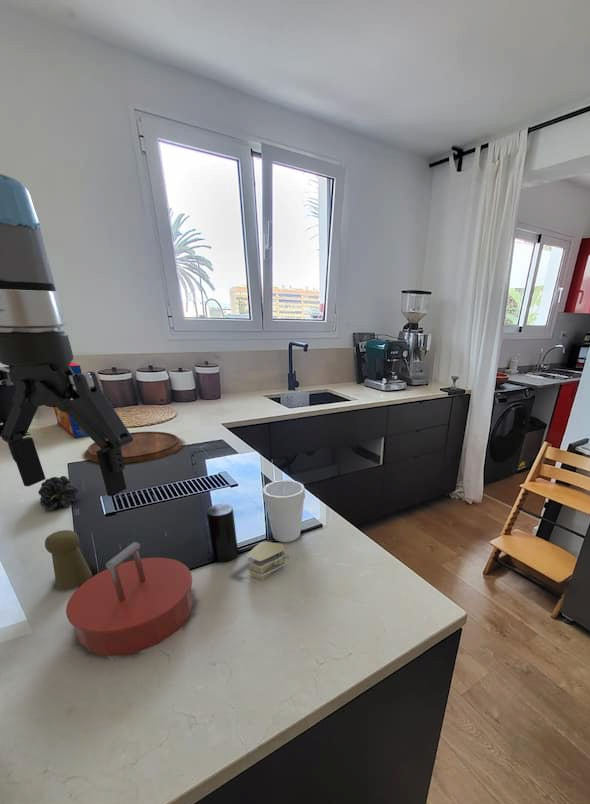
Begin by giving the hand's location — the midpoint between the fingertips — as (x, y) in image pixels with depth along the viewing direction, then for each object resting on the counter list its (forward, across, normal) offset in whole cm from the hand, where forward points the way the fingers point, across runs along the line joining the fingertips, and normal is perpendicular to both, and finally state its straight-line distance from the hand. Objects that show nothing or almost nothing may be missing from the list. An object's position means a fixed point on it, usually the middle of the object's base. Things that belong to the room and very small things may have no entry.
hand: (75, 487), depth 56 cm
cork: (+27, -17, +9) cm, 33 cm away
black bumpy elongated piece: (+27, -48, +37) cm, 66 cm away
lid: (+21, +2, +3) cm, 21 cm away
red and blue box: (+27, -99, +95) cm, 140 cm away
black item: (+27, +8, +23) cm, 36 cm away
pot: (+27, +2, +3) cm, 27 cm away
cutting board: (+27, -58, +79) cm, 102 cm away
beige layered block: (+27, +19, +20) cm, 39 cm away
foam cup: (+27, +18, +34) cm, 47 cm away
